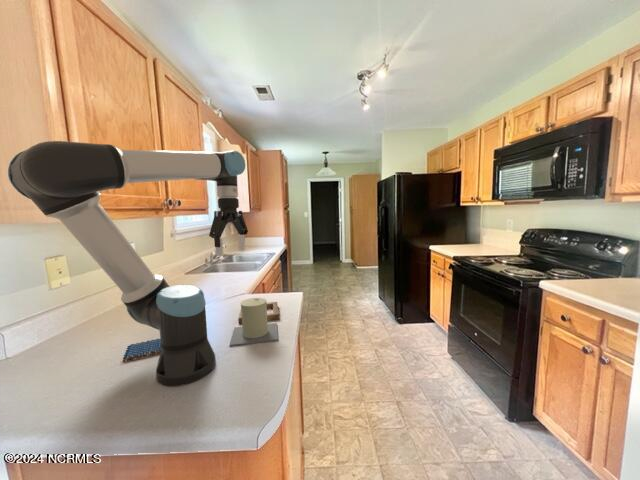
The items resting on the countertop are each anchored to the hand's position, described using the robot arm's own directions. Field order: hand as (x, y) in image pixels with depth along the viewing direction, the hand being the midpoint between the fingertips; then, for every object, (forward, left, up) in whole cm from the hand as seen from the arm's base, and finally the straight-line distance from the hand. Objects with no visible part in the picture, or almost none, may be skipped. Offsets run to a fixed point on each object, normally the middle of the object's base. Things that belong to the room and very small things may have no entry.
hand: (231, 253), depth 104 cm
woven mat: (-27, -15, -29) cm, 43 cm away
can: (+8, -12, -28) cm, 32 cm away
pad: (+8, -12, -29) cm, 32 cm away
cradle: (+9, +8, -29) cm, 31 cm away
